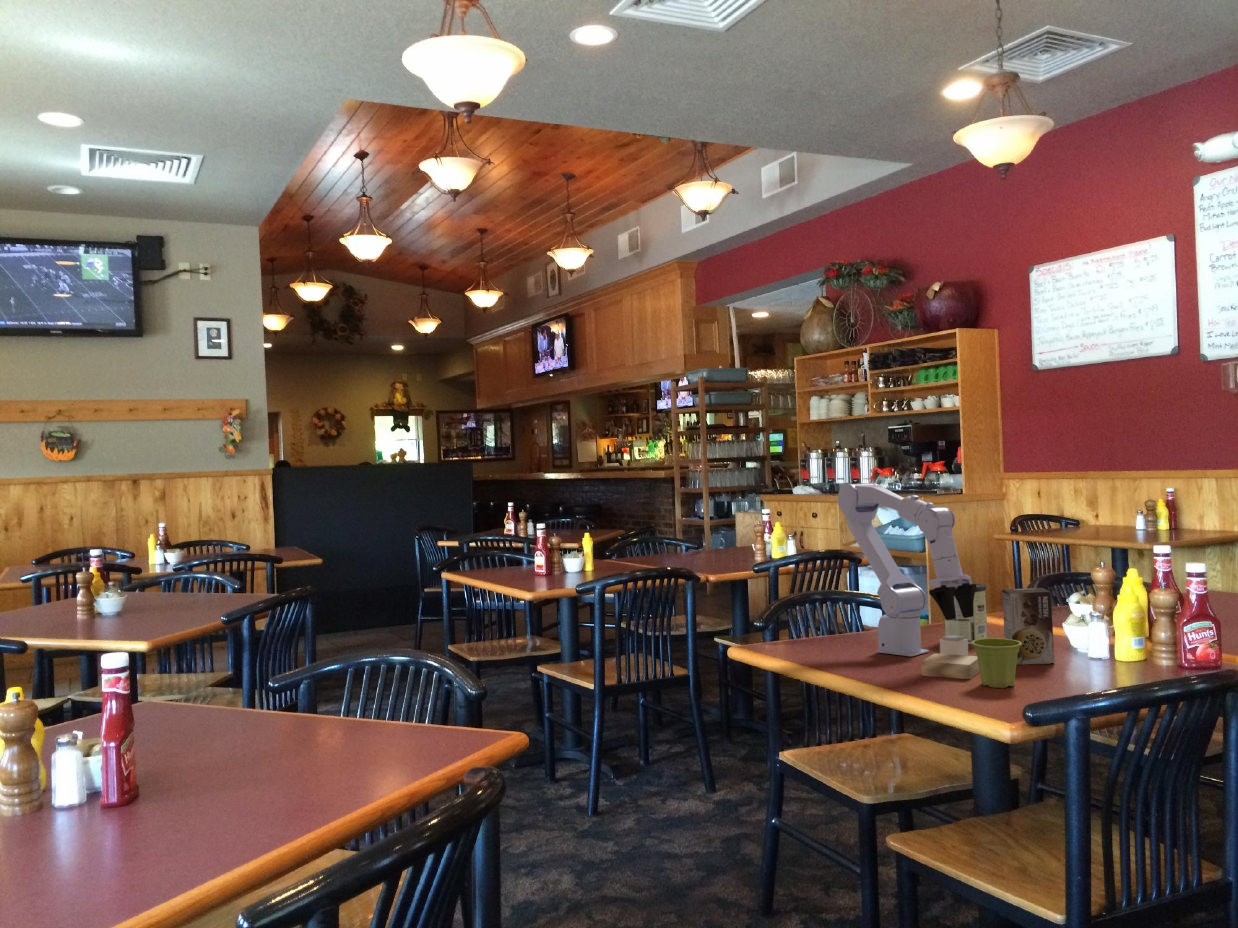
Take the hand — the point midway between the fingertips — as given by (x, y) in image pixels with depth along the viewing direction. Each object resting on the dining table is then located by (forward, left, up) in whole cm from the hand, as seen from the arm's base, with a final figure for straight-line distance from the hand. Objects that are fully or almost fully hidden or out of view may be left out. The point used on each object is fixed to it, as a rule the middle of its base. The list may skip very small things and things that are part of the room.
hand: (960, 618), depth 223 cm
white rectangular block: (-2, 0, -10) cm, 10 cm away
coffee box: (+10, +11, -10) cm, 18 cm away
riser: (+3, -10, -10) cm, 15 cm away
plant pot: (+16, -15, -10) cm, 25 cm away
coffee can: (-14, +27, -10) cm, 32 cm away
